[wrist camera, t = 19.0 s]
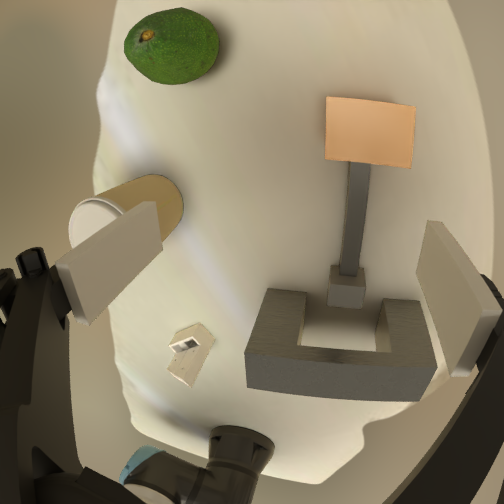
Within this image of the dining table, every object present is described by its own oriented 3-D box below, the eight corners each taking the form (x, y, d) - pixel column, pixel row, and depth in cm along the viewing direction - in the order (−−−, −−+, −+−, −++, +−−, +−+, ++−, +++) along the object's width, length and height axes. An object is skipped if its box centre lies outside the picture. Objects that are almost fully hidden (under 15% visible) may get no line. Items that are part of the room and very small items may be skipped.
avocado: (222, 90, 30) (167, 91, 19) (159, 80, 30) (89, 83, 20) (239, 23, 25) (191, -9, 15) (173, 17, 26) (107, -5, 16)
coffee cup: (130, 230, 41) (75, 274, 31) (125, 164, 36) (60, 196, 26) (190, 242, 39) (142, 295, 29) (190, 171, 35) (132, 206, 25)
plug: (371, 290, 36) (376, 334, 30) (316, 285, 38) (310, 327, 31) (395, 104, 26) (415, 107, 19) (327, 97, 27) (326, 96, 21)
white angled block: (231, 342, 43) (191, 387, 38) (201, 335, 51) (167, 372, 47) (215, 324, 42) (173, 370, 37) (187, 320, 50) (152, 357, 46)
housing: (408, 335, 38) (418, 401, 28) (267, 323, 43) (247, 387, 33) (419, 300, 35) (437, 367, 25) (267, 288, 40) (244, 352, 30)
